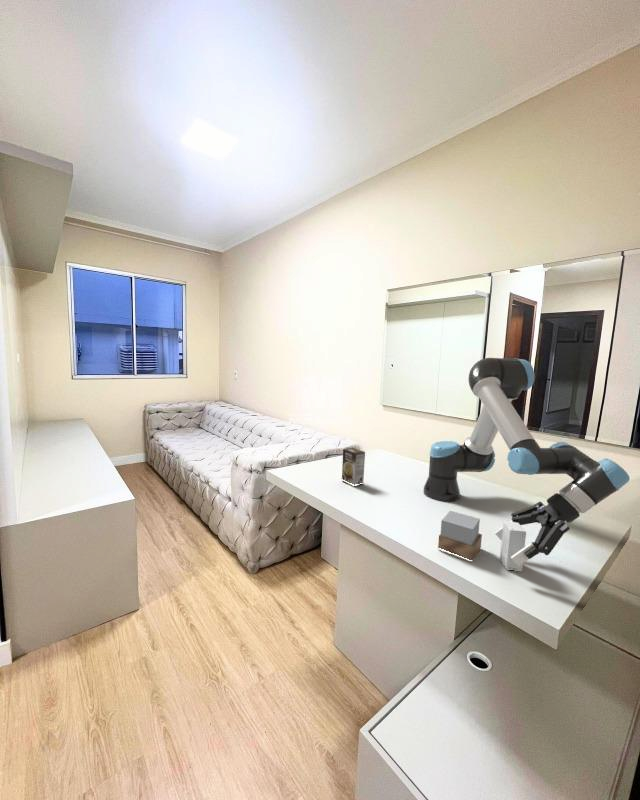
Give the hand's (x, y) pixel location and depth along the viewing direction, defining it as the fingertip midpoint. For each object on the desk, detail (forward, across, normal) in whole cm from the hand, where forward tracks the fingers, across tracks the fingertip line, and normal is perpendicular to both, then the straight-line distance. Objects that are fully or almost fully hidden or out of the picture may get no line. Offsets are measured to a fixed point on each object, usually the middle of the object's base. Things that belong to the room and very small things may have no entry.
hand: (505, 548), depth 98 cm
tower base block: (+12, +6, +4) cm, 14 cm away
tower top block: (+8, +6, +8) cm, 13 cm away
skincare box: (+2, 0, -5) cm, 6 cm away
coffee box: (+38, +57, +31) cm, 75 cm away
